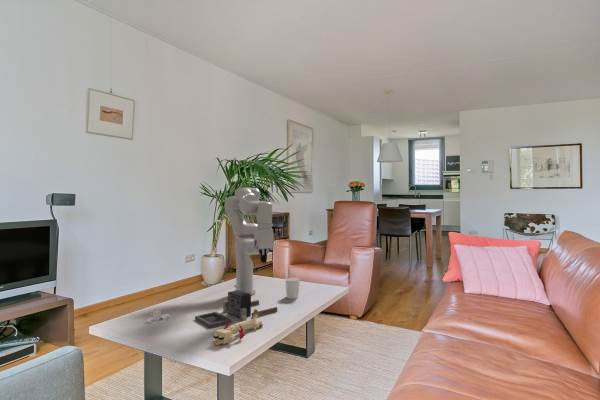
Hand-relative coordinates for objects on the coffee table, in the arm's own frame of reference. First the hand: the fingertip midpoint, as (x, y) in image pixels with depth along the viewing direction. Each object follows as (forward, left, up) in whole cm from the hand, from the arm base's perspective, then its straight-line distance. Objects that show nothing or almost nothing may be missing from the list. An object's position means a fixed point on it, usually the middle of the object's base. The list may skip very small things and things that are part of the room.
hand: (263, 261), depth 180 cm
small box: (+4, -17, -23) cm, 28 cm away
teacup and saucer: (-12, -47, -23) cm, 54 cm away
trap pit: (+3, -30, -23) cm, 38 cm away
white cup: (-3, +22, -23) cm, 32 cm away
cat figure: (+25, -31, -23) cm, 46 cm away
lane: (+3, -10, -23) cm, 25 cm away
